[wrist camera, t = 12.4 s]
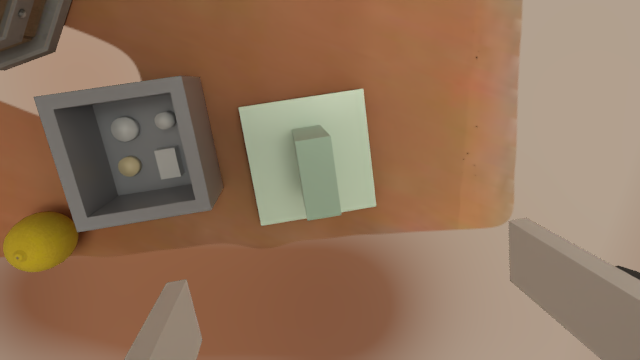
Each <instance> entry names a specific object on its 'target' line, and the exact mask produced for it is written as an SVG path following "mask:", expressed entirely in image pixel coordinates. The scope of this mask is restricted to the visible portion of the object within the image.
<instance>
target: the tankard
mask: <svg viewBox="0 0 640 360" xmlns="http://www.w3.org/2000/svg"><path fill="white" fill-rule="evenodd" d="M71 1H72V0H0V70H7V69H10V68H12V67H15V66H18V65H21V64H23V63H26V62H29V61H31V60H34V59H37V58H39V57H42V56H45V55H48V54H50V53H53V52H55V50H56V47H57V44H58V41H59V38H60V35H61V32H62V29H63V26H64V23H65V20H66V16H67V13H68V10H69V7H70V4H71Z"/></svg>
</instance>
